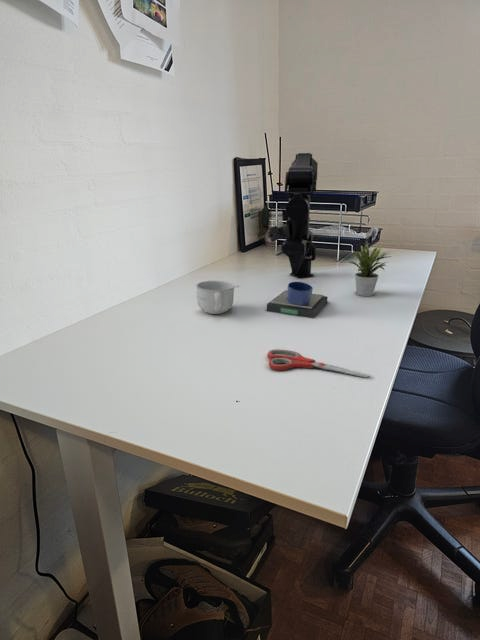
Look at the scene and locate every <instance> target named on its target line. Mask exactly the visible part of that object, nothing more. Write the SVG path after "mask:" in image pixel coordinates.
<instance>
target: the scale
mask: <svg viewBox="0 0 480 640" xmlns="http://www.w3.org/2000/svg"><path fill="white" fill-rule="evenodd" d="M285 291H286V290H284V291H282V292H281V293H280V294H278V295H277V296H276V297H274V298H273V299H272V300H271V301H269V302H268V303H266V312H272V313H279V314H284V315H285V314H286V315H292V316H299V317H305V318H311V319H312V318H313V319H314V318H315V317H316V316H317V315H318V314H319V312H320V311H322V309H323V308H324V307H325V306H326V305H327V304H328V298H329V296H327V295H324V297H323V298H322V299H321V300H320V301H319V302H318V303H317V304H316V305H315V306H314V307H313V308H312V309H307V308H300V307H293V306H286V305H278V304H271V302H272V301H273V300H274V299H275V298H277V297H278V296H279V295H281V294H282V293H283V292H285Z"/></svg>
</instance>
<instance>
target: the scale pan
mask: <svg viewBox="0 0 480 640" xmlns="http://www.w3.org/2000/svg"><path fill="white" fill-rule="evenodd" d="M284 291H285V292H284ZM284 291H282V292H283V293H282V292H281V293H282V294H281V293H280V294H281V295H280V294H278V295H279V296H278V295H277V296H278V297H277V296H276V297H277V298H276V297H274V298H275V299H274V298H273V299H274V300H273V299H272V300H273V301H272V300H271V301H272V302H271V301H270V302H271V304H278V305H286V306H293V307H300V308H307V309H312V308H313V307H314V306H315V305H316V304H317V303H318V302H319V301H320V300H321V299H322V298H323V297H324V296H325V295H324V294H319V293H312V295H311V301H310V303H308V304H307V305H304V306H298V305H294V304H291V303H289V302H288V301H287V299H286V295H287V289H286V290H284Z"/></svg>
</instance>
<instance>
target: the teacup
mask: <svg viewBox="0 0 480 640" xmlns="http://www.w3.org/2000/svg"><path fill="white" fill-rule="evenodd" d="M195 287H196V303H197V305H198V307H199V308H200V309H201V310H202V311H203V312H205V313H207V314H211V315H218V314H219V315H220V314H224V313H226V312H227V311H228V310H230V309H231V308H232V307H233V304H234V299H235V298H234V297H235V285H234V283H232V282H229V281H224V280H204V281H200V282H198V283H196V285H195Z"/></svg>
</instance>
